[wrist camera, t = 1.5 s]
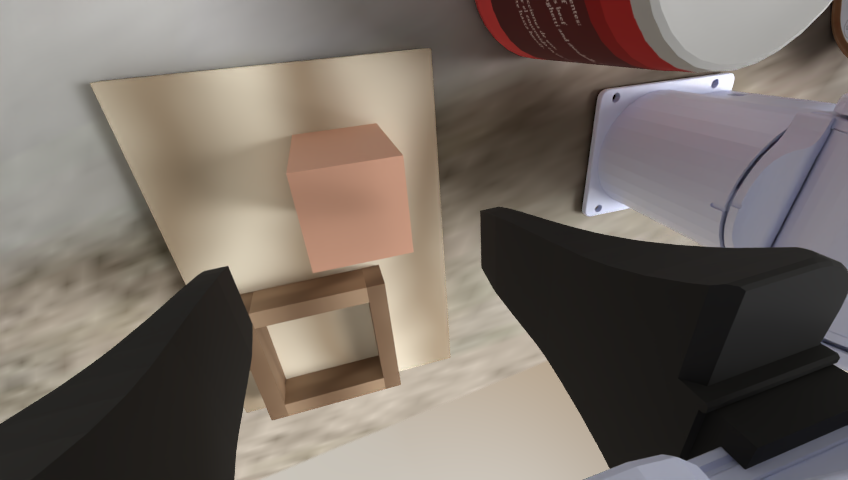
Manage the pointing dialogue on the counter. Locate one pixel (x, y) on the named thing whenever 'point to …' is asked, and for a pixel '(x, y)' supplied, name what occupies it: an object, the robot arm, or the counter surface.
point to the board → (293, 214)
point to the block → (349, 196)
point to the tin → (840, 24)
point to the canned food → (649, 30)
